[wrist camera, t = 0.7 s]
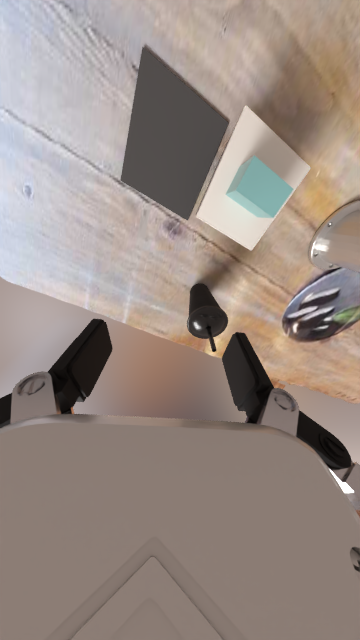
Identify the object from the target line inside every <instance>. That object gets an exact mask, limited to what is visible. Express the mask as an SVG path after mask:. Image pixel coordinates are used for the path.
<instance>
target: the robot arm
mask: <svg viewBox="0 0 360 640" xmlns="http://www.w3.org/2000/svg"><path fill="white" fill-rule="evenodd" d="M309 260H310V262H311V263H312V264H313V265H314V266H315V267H317V268H320V269H326V270H328V269H335V268H338V267H343V268H346V269H349V270H352V271H356V272H359V273H360V200H357V201H354V202H351V203H349V204H347V205H345V206H343V207H342V208H340V209H339V210H337V211H336V212H335V213H333V214H332V215H331V216H330V217H329V218H328V219H327V220H326V221H325V222H324V223H323V224H322V225H321V226H320V228H319V229H318V230H317V232H316V234H315V235H314V237H313V239H312V241H311V244H310V247H309ZM111 352H112V344H111V340H110V336H109V332H108V328H107V324H106V322H104V321H103V320H101V319H93V320H92V321H91V322H90V323H89V324H88V325H87V327H86V328H85V329H84V330H83V331H82V333H81V334H80V335H79V336H78V337H77V338H76V339H75V340H74V341H73V343H72V344H71V345H70V346H69V347H68V348H67V350H66V351H65V352H64V353H63V354H62V355H61V357H60V358H59V359H58V360H57V362H56V363H55V364H54V365H53V366H52V368H51V369H50V370H49V371H48V372H37V373H33V374H31V375H29V376H27V377H25V378H24V379H22V380H21V381H20V382H19V383H18V384H16V386H15V388H14V389H13V392H12V393H11V394H9V395H6V396H4V397H2V398H0V640H360V465H359V464H358V463H357V462H355V463H353V462H352V461H351V457H350V455H349V453H348V451H347V449H346V448H345V446H344V445H343V444H342V443H341V442H340V441H339V440H338V439H337V438H336V437H335V436H334V435H332V434H331V433H330V432H328V431H327V430H326V429H324V428H323V427H321V426H320V425H319V424H317V423H316V422H315V421H313V420H312V419H310V418H309V417H308V416H306V415H305V414H304V413H302V412H301V411H299V406H298V404H297V402H296V400H295V399H294V398H293V397H292V396H291V395H290V394H289V393H288V392H286V391H285V390H283V389H280V388H274V387H273V385H272V383H271V381H270V379H269V377H268V375H267V374H266V372H265V370H264V368H263V366H262V364H261V362H260V360H259V359H258V357H257V355H256V353H255V351H254V350H253V348H252V346H251V344H250V342H249V340H248V338H247V336H246V335H245V333H238V332H236V333H235V334H233V335H232V337H231V339H230V342H229V344H228V346H227V348H226V350H225V352H224V354H223V357H222V361H223V365H224V368H225V372H226V376H227V379H228V383H229V386H230V390H231V393H232V397H233V400H234V404H235V405H236V406H237V407H238V410H239V411H246V415H247V418H246V421H245V423H239V422H225V421H207V420H191V419H172V418H152V417H133V416H112V415H86V414H85V415H84V414H74V410H73V406H74V404H75V402H76V401H77V402H84V401H85V399H86V397H88V396H89V395H90V394H91V392H92V390H93V388H94V386H95V384H96V382H97V380H98V378H99V376H100V374H101V372H102V370H103V368H104V366H105V364H106V362H107V359H108V358H109V356H110V354H111Z"/></svg>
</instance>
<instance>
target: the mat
mask: <svg viewBox="0 0 360 640" xmlns="http://www.w3.org/2000/svg"><path fill="white" fill-rule="evenodd" d="M227 125H228V122H227V121H226V120H225V119H224V118H222V117H221V116H220V115H219V114H218V113H217V112H216V111H215V110H213V109H212V108H211V107H210V106H209V105H208V104H207V103H206V102H204V101H203V100H202V99H201V98H200V97H199V96H198V95H197V94H195V93H194V92H193V91H192V90H191V89H190V88H189V87H187V86H186V85H185V84H184V83H183V82H182V81H181V80H180V79H178V78H177V77H176V76H175V75H174V74H173V73H172V72H171V71H169V70H168V69H167V68H166V67H165V66H164V65H163V64H162V63H160V62H159V61H158V60H157V59H156V58H155V57H154V56H152V55H151V54H150V53H149V52H148V51H147V50H146V49H145V48H142V54H141V60H140V66H139V72H138V78H137V84H136V90H135V96H134V102H133V108H132V115H131V121H130V127H129V133H128V139H127V145H126V151H125V157H124V163H123V169H122V175H121V181H123V182H124V183H126V184H128V185H129V186H131V187H133V188H134V189H136V190H138V191H139V192H141V193H143V194H144V195H146V196H148V197H149V198H151V199H153V200H154V201H156V202H158V203H159V204H161V205H163V206H164V207H166V208H168V209H169V210H171V211H173V212H174V213H176V214H178V215H179V216H181V217H183V218H184V219H186V220H188V218H189V216H190V214H191V211H192V209H193V206H194V204H195V202H196V199H197V197H198V194H199V192H200V190H201V187H202V185H203V183H204V180H205V178H206V175H207V173H208V171H209V168H210V166H211V163H212V161H213V159H214V156H215V154H216V152H217V149H218V147H219V144H220V142H221V140H222V137H223V135H224V133H225V130H226V128H227Z"/></svg>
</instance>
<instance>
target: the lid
mask: <svg viewBox="0 0 360 640" xmlns="http://www.w3.org/2000/svg"><path fill="white" fill-rule="evenodd" d="M310 169H311V167H310V166H309V165H308V164H307V163H306V162H304V161H303V160H302V159H301V158H300V157H299V156H298V155H297V154H296V153H295V152H294V151H293V150H292V149H291V148H290V147H289V146H288V145H287V144H286V143H285V142H284V141H283V140H282V139H281V138H280V137H279V136H278V135H277V134H276V133H274V132H273V131H272V130H271V129H270V128H269V127H268V126H267V125H266V124H265V123H264V122H263V121H262V120H261V119H260V118H259V117H258V116H257V115H256V114H255V113H254V112H253V111H252V110H251V109H250V108H249V107H248V106H247V105H245V107H244V108H243V110H242V112H241V115H240V117H239V119H238V122H237V124H236V126H235V128H234V131H233V133H232V135H231V137H230V140H229V142H228V144H227V146H226V149H225V151H224V153H223V155H222V158H221V160H220V162H219V165H218V167H217V169H216V171H215V174H214V176H213V178H212V180H211V183H210V185H209V187H208V189H207V192H206V194H205V196H204V199H203V201H202V203H201V205H200V208H199V210H198V212H197V214H196V217H197V218H199V219H200V220H202V221H203V222H205V223H207V224H208V225H210V226H212V227H213V228H215V229H216V230H218V231H220V232H221V233H223V234H224V235H226V236H228V237H229V238H231V239H233V240H234V241H236V242H237V243H239V244H241V245H242V246H244V247H245V248H247V249H249V250H251V251H252V249H253V248H254V247H255V245H256V244H257V243H258V241H259V240H260V238H261V237H262V236H263V234H264V233H265V231H266V230H267V229H268V227H269V226H270V224H271V223H272V222H273V220H274V219H275V217H276V216H277V215H278V213H279V212H280V210H281V209H282V208H283V206H284V205H285V204H286V202H287V201H288V199H289V198H290V197H291V195H292V194H293V192H294V191H295V190H296V188H297V187H298V185H299V184H300V183H301V181H302V180H303V178H304V177H305V176H306V174H307V173H308V171H309V170H310Z"/></svg>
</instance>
